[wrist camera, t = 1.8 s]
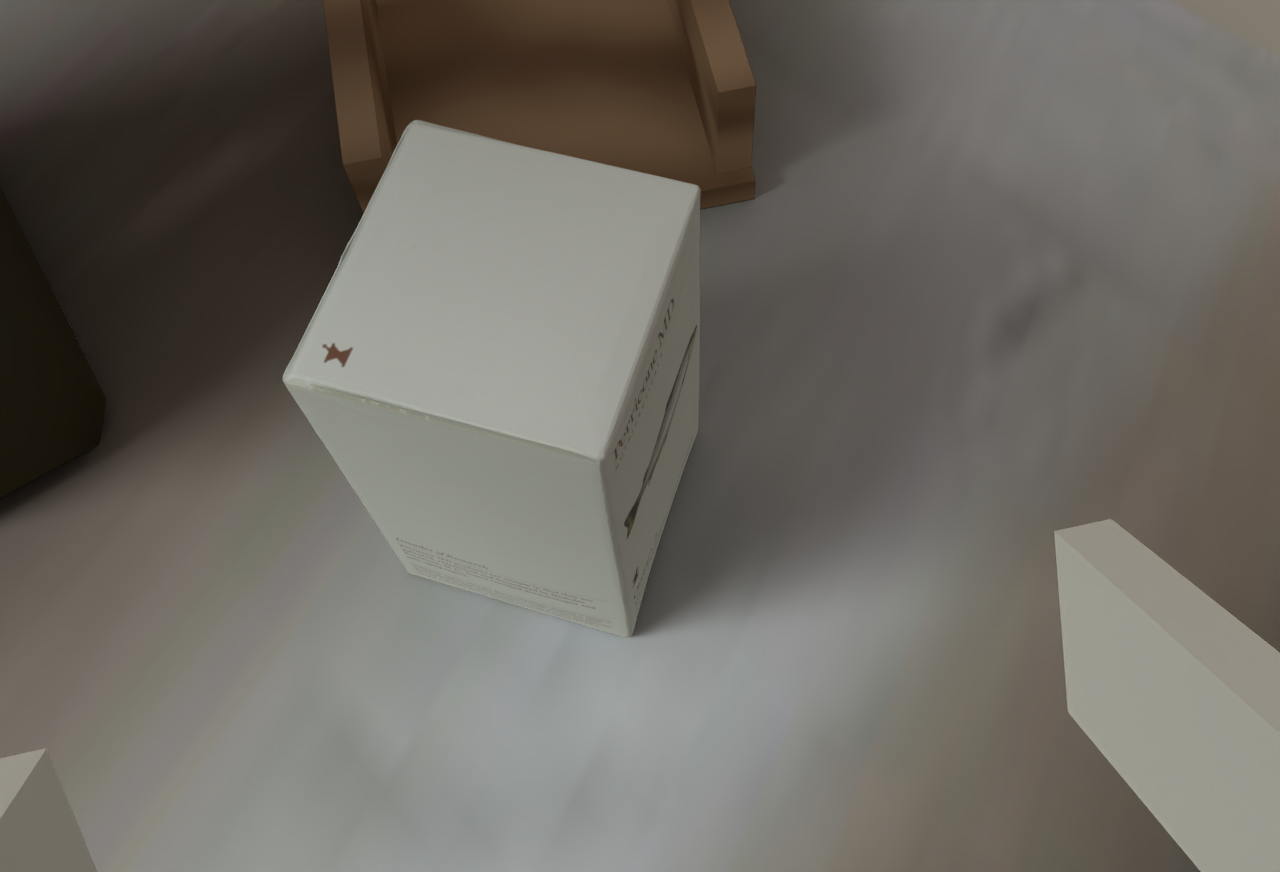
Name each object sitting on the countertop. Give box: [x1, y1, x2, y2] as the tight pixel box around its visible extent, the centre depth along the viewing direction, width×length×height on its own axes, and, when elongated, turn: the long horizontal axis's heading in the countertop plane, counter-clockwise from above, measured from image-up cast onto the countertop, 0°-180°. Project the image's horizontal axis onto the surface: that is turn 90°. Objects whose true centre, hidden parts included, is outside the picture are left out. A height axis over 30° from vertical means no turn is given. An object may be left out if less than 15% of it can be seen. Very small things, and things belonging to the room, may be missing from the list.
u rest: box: [323, 0, 756, 213], centre depth 42 cm, size 13×13×5 cm
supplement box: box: [283, 120, 701, 638], centre depth 31 cm, size 7×7×13 cm
